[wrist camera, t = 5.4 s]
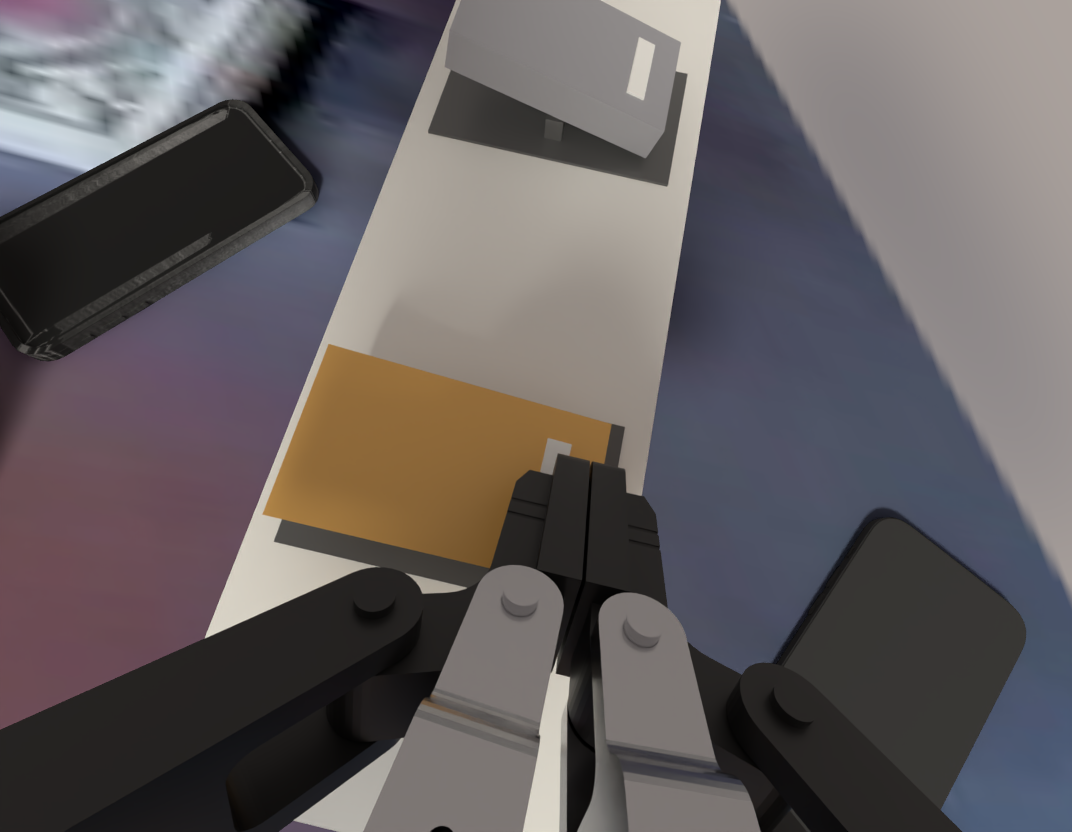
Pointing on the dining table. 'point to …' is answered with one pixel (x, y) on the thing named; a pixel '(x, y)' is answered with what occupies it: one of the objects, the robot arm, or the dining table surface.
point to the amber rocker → (418, 456)
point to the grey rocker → (571, 64)
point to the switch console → (502, 317)
